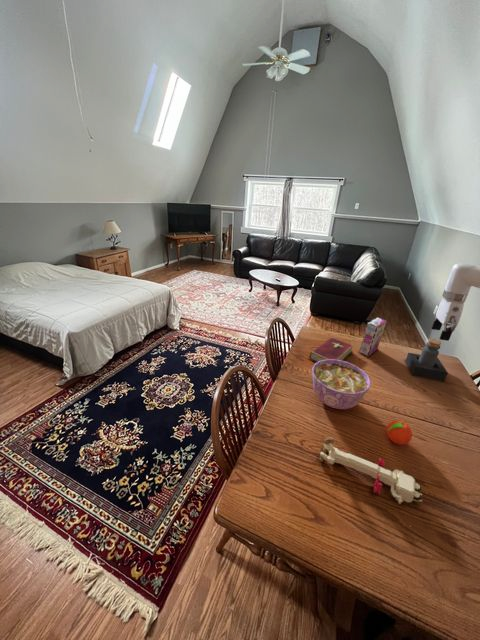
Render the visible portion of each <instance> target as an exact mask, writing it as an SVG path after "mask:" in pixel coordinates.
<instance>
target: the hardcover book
mask: <svg viewBox="0 0 480 640" xmlns="http://www.w3.org/2000/svg"><path fill="white" fill-rule="evenodd" d="M354 346H355V345H354V344H351V343H350V342H346V341H343V340H340V339H338V338H336V337H334V336H331V337H330V338H328V339H327V340H325V341H324V342H323V343H321V344H320V345H319V346H317V347H316V348H315V349H313V350H312V351H310V353H309V360H310V361H313V362H315V363H317V362H319V361H321V360H326V359H335V360H341V361H345V360H346V359H347V358H348V357H349V356H350V355H351V354H352V353H353V348H354Z"/></svg>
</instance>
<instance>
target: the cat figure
mask: <svg viewBox="0 0 480 640" xmlns="http://www.w3.org/2000/svg"><path fill="white" fill-rule="evenodd" d="M334 443H335V439H334V437H332V436H329V437H328V436H327V437H326V438H324V440H323V448H322V451H320V453H319V458H318V461H319V462H321V463H323V462H324V461H326V462H327V463H328V464H330V465H331V466H333V465H335V463H336V464H340V465H342V466H345V467H347V468H352V469H354V470H356V471H359V472H361V473H363V474H366V475H368V476H370V477H372V478H373V479H375V482H374V487H373V493H375V494H379V495H381V493H382V488H383V483H384V485H387V486H389V487H390V493H391V496H392V497H393V498H395V501H397V503H398V504H399V505H401V504H402V503H404V502H406V503H408V504H409V503H413V501H414V502H418V503H419V502H420V503H422V502H423V499H422V496H423V493H421V491H422V486H420V484H419V483H417V482H416V479H415V478H414V477H413V476H411V475H408V474H406V473H405V472H404V471H403V470H399V469H393V471H391V470H390V469H387V468H384V467H385V466H386V462H385V460H383V459H382V458H381V457H379V458H378V462H377V463H374V462H372V461H369V460H367V459H364V458H362V457H360V456H357V455H354V454H352V453H347V452H345V451H342V450H340V449H339V448H337V447H335V446H333V444H334ZM327 451H328V455H327ZM379 481H380V482H379Z"/></svg>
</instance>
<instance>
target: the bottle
mask: <svg viewBox="0 0 480 640" xmlns="http://www.w3.org/2000/svg"><path fill="white" fill-rule="evenodd" d="M441 345H442V342H441V340H440V339H436V338H428V339H427V341H426V343H425V346H423V348H422V350H421V352H420V354H419V355H420V357H419V360H418V361H419V363H420V365H424V366H430V367H433V366H434V363H435V361H436V359H437V358H438V357H439V354H440V351H439V350H440V349H441Z"/></svg>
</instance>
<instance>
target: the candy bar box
mask: <svg viewBox="0 0 480 640" xmlns="http://www.w3.org/2000/svg"><path fill="white" fill-rule="evenodd" d="M386 324H387V320H386V319H383V318H381V317H376V318H374V319H372V320H370V321H369V322H367V324H366V327H365V332H364V334H363V338H362V341H361V344H360V347H359V351H358V353H359V354H362V355H364V356H366V357H369V356H371V355H372V354H373V353H374V352H376V351H377V350H378V349H379V347H380V346H379V345H380V343H381V341H382V336H383V333H384V331H385V327H386Z"/></svg>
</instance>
